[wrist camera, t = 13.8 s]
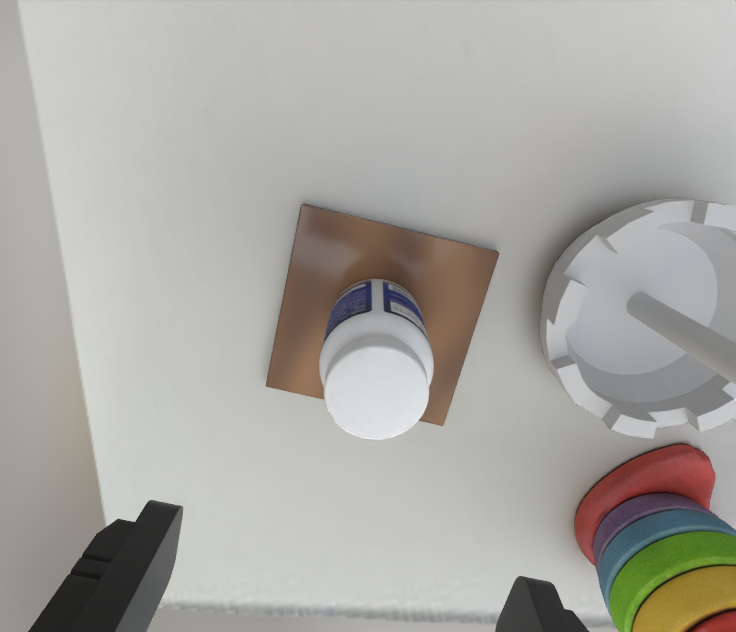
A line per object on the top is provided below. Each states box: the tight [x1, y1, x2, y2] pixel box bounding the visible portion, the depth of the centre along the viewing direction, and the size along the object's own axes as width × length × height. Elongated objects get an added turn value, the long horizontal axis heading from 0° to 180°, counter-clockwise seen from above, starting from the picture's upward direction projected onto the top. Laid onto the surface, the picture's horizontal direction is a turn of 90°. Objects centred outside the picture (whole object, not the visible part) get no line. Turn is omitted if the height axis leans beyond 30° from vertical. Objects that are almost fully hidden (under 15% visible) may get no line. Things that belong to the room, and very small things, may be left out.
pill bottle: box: [319, 279, 434, 440], centre depth 27 cm, size 6×6×10 cm
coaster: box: [266, 204, 499, 426], centre depth 33 cm, size 12×12×1 cm
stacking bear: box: [575, 445, 736, 632], centre depth 29 cm, size 11×10×18 cm
